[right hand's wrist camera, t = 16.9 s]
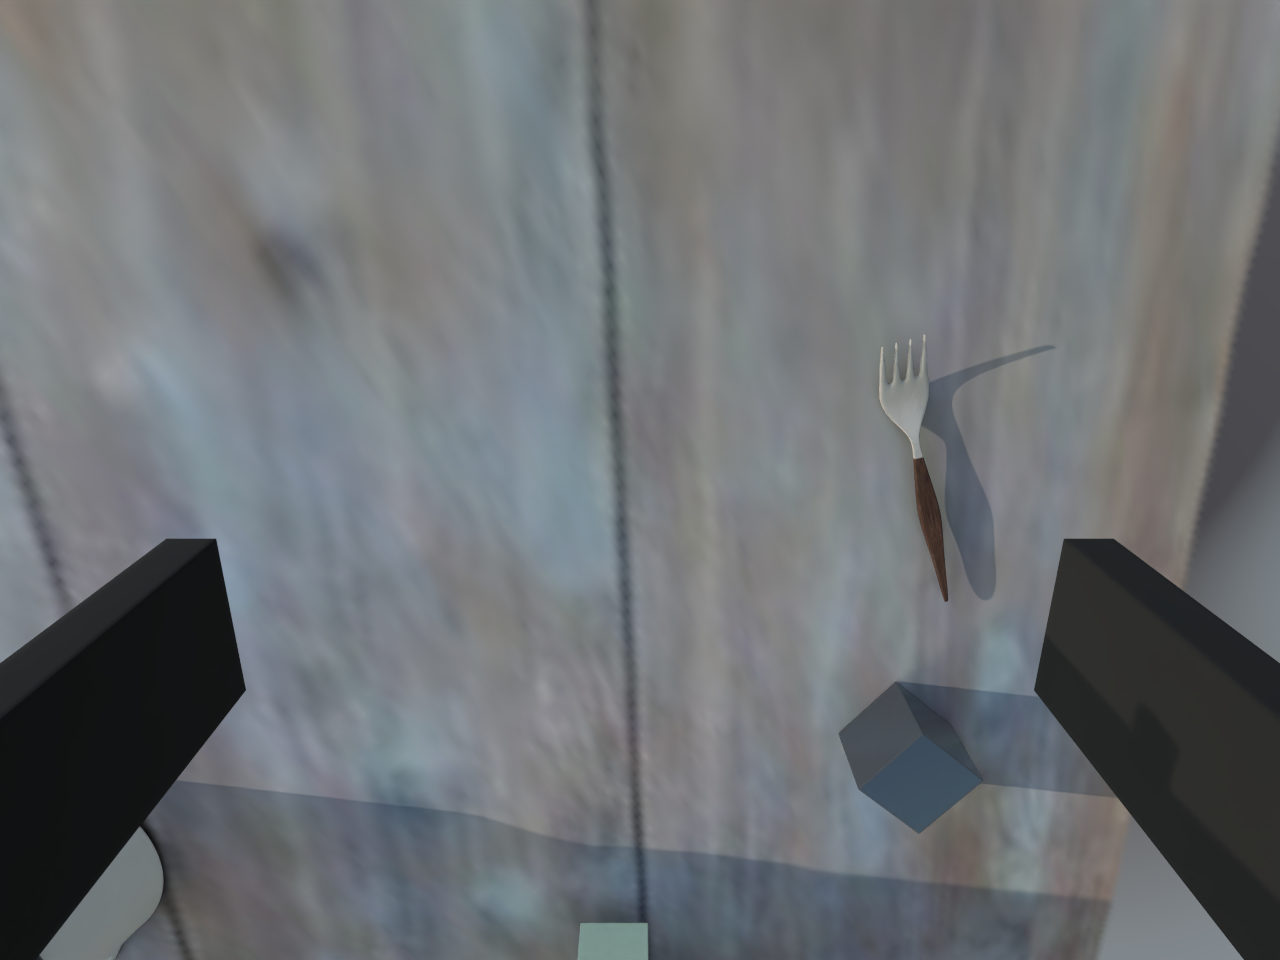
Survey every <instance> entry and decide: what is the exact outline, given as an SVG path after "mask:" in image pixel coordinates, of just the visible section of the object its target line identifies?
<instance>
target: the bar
mask: <svg viewBox="0 0 1280 960" xmlns="http://www.w3.org/2000/svg"><path fill="white" fill-rule="evenodd" d="M578 960H648V923H581V924H580V936H579V948H578Z"/></svg>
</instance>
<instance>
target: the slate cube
mask: <svg viewBox="0 0 1280 960" xmlns="http://www.w3.org/2000/svg"><path fill="white" fill-rule="evenodd" d="M839 737H840V739H841V742H842V745H843V748H844V750H845V753H846V756H847V759H848V761H849V764H850V767H851V770H852V773H853V775H854V778H855V781H856V784H857V786H858V789H859V790H860V791H861V792H863V793H864V794H866V795H867V796H868V797H870V798H871V799H872V800H874V801H875V802H876V803H878V804H879V805H880V806H882V807H883V808H885V809H886V810H887V811H889V812H890V813H891V814H893V815H894V816H895V817H897V818H898V819H900V820H901V821H902V822H904V823H905V824H906V825H908V826H909V827H910V828H912V829H913V830H914V831H916V832H917V833H921V832H922V831H923V830H924V829H925V828H927V827H928V826H929V825H930V824H931V823H933V822H934V821H935V820H936V819H938V818H939V817H940V816H941V815H942V814H944V813H945V812H946V811H947V810H948V809H950V808H951V807H952V806H953V805H955V804H956V803H957V802H958V801H959V800H961V799H962V798H963V797H964V796H965V795H967V794H968V793H969V792H970V791H972V790H973V789H974V788H975V787H976V786H978V785H979V784H980V783H981V782H982V781H983V779H982V777H981V775H980V774H979V772H978V770H977V768H976V767H975V765H974V763H973V761H972V760H971V758H970V756H969V755H968V753H967V751H966V749H965V748H964V746H963V744H962V742H961V741H960V739H959V737H958V735H957V734H956V732H955V730H954V728H953V727H952V725H951V724H949V723H948V722H947V721H946V720H944V719H943V718H942V717H941V716H939V715H938V714H937V713H935V712H934V711H933V710H932V709H930V708H929V707H928V706H927V705H925V704H924V703H923V702H922V701H920V700H919V699H918V698H916V697H915V696H914V695H913V694H911V693H910V692H909V691H908V690H906V689H905V688H904V687H903V686H901V685H900V684H899V683H897V682H895V683H894V684H893V685H892V686H891V687H890V688H888V689H887V690H886V691H885V692H884V693H883V694H882V695H881V696H880V697H878V698H877V699H876V700H875V701H874V702H873V703H872V704H871V705H870V706H868V707H867V708H866V709H865V710H864V711H863V712H862V713H861V714H860V715H858V716H857V717H856V718H855V719H854V720H853V721H852V722H851V723H850V724H848V725H847V726H846V727H845V728H844V729H843V730H842V731H841V732H840V733H839Z"/></svg>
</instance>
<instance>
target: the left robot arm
mask: <svg viewBox="0 0 1280 960" xmlns="http://www.w3.org/2000/svg"><path fill="white" fill-rule="evenodd" d="M162 892H163V870H162V866H161V862H160V859H159V856H158V854H157V851H156V849H155V847H154V845H153V844H152V842H151V840H150V839H149V837H148V836H147V834H146V833H145V832H144V830H143V829H142V828H141V827H139V828H138V829H137V831H136V832H135V833H134V834H133V836H132V837H131V838H130V840H129V841H128V842H127V843H126V845H125V846H124V847H123V849H122V850H121V851H120V852H119V854H118V855H117V856H116V858H115V859H114V860H113V861H112V863H111V864H110V865H109V867H108V868H107V869H106V870H105V872H104V873H103V874H102V876H101V877H100V878H99V879H98V881H97V882H96V883H95V885H94V886H93V887H92V888H91V890H90V891H89V892H88V894H87V895H86V896H85V897H84V899H83V900H82V901H81V903H80V904H79V905H78V906H77V908H76V909H75V910H74V911H73V913H72V914H71V915H70V917H69V918H68V919H67V920H66V922H65V923H64V924H63V926H62V927H61V928H60V929H59V931H58V932H57V933H56V935H55V936H54V937H53V938H52V940H51V941H50V942H49V944H48V945H47V946H46V947H45V949H44V950H43V951H42V953H41V954H40V955H39V956H38V958H37V959H36V960H115V958H116V956H117V955H118V952H119V950H120V948H121V945H122V944H123V943H124V942H125V941H126V940H127V939H128V938H129V937H130V936H131V935H132V934H133V933H134V932H135V931H136V930H137V929H138V928H139V927H141V926H142V925H143V924H144V923H145V922H146V921H147V920H148V919H149V918H150V917H151V915H152V914H153V913H154V911H155V910H156V908H157V906H158V904H159V902H160V899H161V896H162Z"/></svg>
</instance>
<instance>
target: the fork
mask: <svg viewBox="0 0 1280 960" xmlns="http://www.w3.org/2000/svg"><path fill="white" fill-rule="evenodd" d="M879 396H880V402H881V405H882V408H883V409H884V411H885V412H886V414H887V415H888V416H889V417H890V418H891V420H892V421H893V422H894V423H896V424H897V425H898V426H899V427H900V428H901V429H902V430H903V431H904V432H905V433H906V435H907V436H908V437H909V439H910V441H911V444H912V449H913V460H914V475H915V490H916V502H917V510H918V515H919V520H920V524H921V527H922V530H923V533H924V537H925V540H926V542H927V545H928V548H929V551H930V554H931V558H932V561H933V564H934V568H935V571H936V574H937V578H938V581H939V585H940V588H941V592H942V595H943V598H944V601H945V602H946V601H948V591H947V580H946V570H945V559H944V546H943V531H942V521H941V515H940V510H939V506H938V502H937V499H936V495H935V492H934V489H933V486H932V483H931V480H930V477H929V473H928V470H927V467H926V464H925V461H924V458H923V455H922V451H921V448H920V443H919V433H920V428H921V424H922V421H923V417H924V414H925V411H926V407H927V403H928V397H929V381H928V374H927V357H926V335H925V334H924V337H923V345H922V353H921V364H920V372H919V375H918V376H915V375H914V372H913V357H912V340H911V339H910V341H909V349H908V359H907V372H906V378H905V379H904V380H901V378H900V371H899V359H898V344H897V343H896V344H895V354H894V367H893V380H892V382H891V384H888V383H887V380H886V371H885V361H884V347H881V360H880V388H879Z"/></svg>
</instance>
